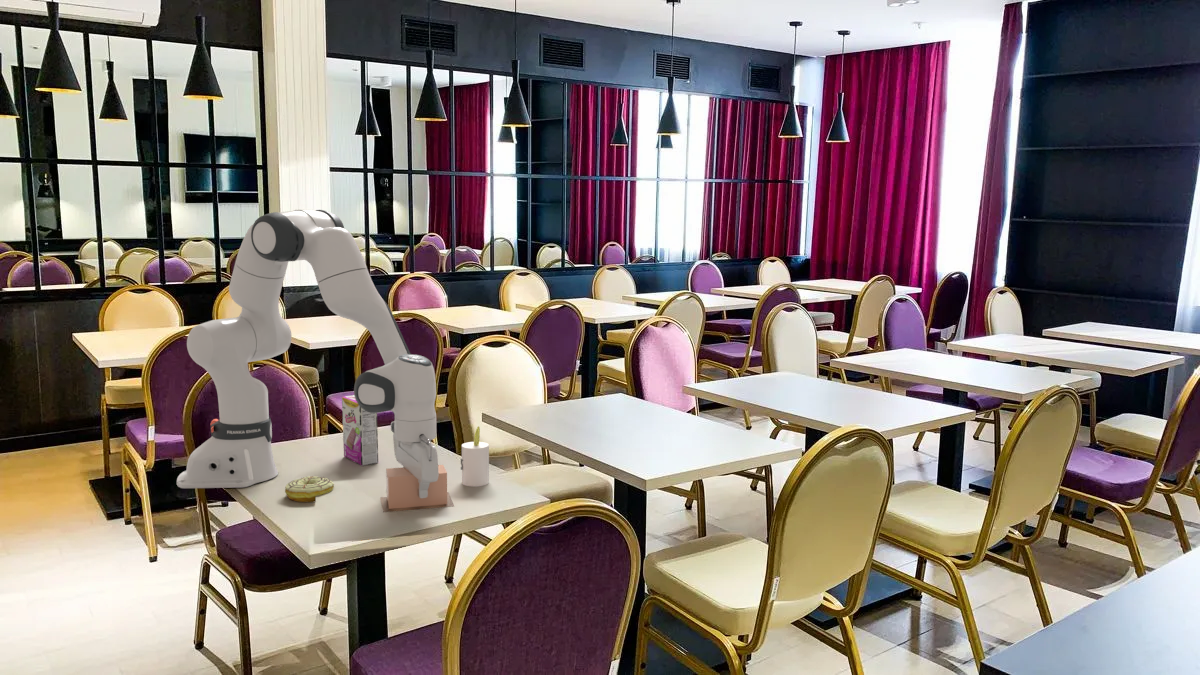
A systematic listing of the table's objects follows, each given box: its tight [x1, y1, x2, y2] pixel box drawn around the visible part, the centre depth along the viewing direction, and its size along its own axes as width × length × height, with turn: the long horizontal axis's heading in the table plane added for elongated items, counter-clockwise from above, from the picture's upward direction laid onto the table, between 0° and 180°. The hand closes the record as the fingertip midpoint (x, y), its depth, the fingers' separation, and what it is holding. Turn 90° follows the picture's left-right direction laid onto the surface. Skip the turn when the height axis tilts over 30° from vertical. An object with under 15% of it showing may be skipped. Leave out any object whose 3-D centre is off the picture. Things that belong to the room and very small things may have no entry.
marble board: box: [379, 491, 455, 513], centre depth 194 cm, size 15×10×4 cm, turn 107°
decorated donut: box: [284, 475, 335, 503], centre depth 202 cm, size 10×11×4 cm
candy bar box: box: [341, 394, 379, 467], centre depth 230 cm, size 11×5×16 cm, turn 40°
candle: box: [460, 426, 490, 487], centre depth 208 cm, size 6×6×15 cm
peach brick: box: [385, 464, 448, 509], centre depth 194 cm, size 12×7×7 cm, turn 107°
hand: (416, 491), depth 194 cm, fingers closed on peach brick, 7 cm apart
